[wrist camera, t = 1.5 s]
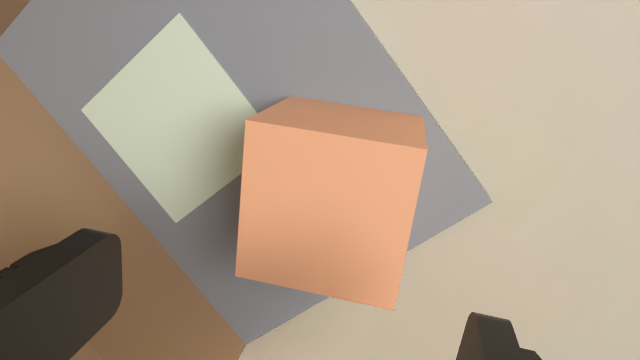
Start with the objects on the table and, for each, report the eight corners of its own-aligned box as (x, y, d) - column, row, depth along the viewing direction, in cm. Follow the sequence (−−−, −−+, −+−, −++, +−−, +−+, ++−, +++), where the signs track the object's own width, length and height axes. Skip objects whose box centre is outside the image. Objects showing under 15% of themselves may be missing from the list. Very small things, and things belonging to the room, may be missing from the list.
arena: (488, 194, 21) (529, 282, 14) (232, 345, 27) (163, 465, 19) (187, -230, 18) (33, -409, 11) (-29, 40, 24) (-228, 43, 17)
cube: (423, 116, 20) (427, 149, 14) (398, 238, 22) (394, 310, 16) (290, 96, 21) (245, 120, 15) (279, 215, 23) (235, 276, 17)
